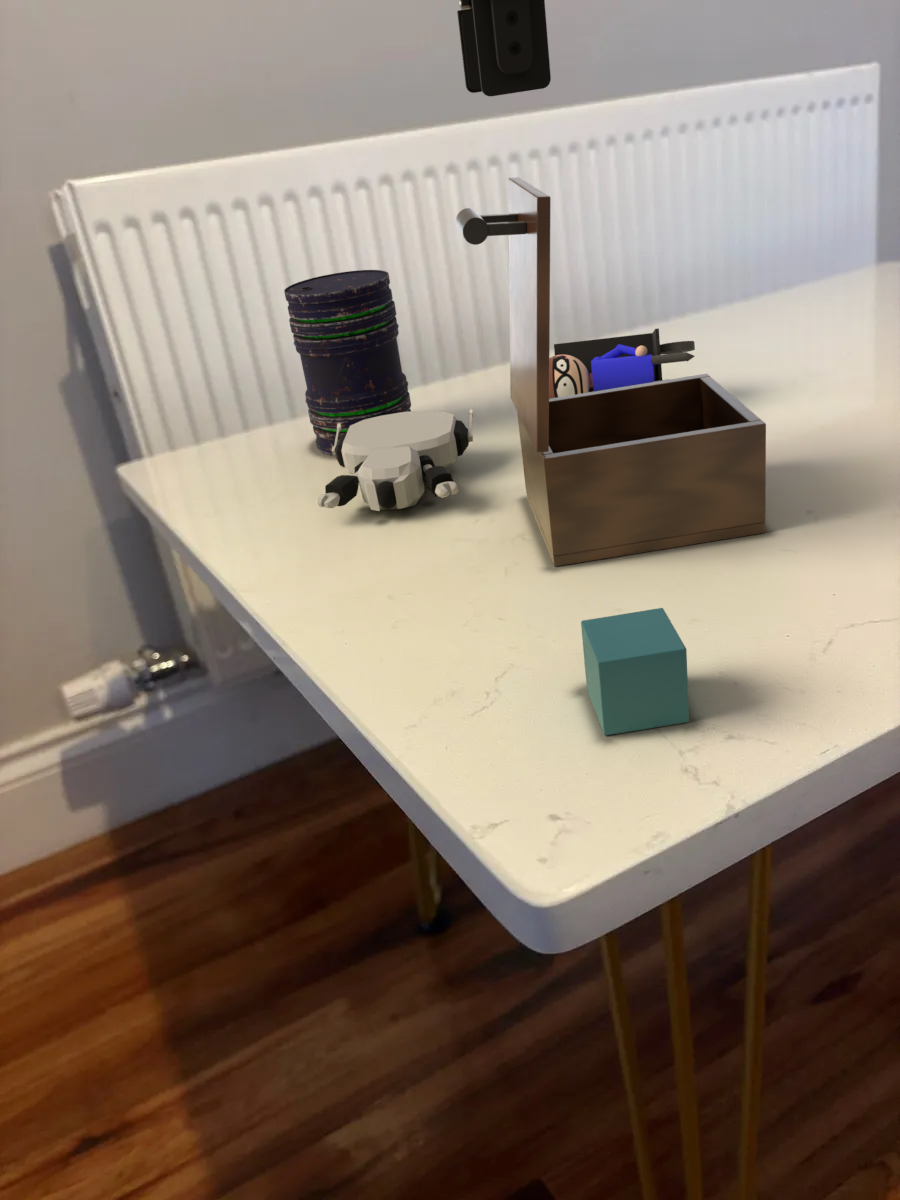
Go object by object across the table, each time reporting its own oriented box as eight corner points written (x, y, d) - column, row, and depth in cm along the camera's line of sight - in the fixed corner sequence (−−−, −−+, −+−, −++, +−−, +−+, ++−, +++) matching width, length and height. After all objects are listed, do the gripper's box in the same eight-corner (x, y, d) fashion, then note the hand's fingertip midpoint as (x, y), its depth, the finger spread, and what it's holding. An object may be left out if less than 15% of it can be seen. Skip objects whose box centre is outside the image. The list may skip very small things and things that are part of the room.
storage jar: (400, 414, 105) (375, 264, 98) (428, 440, 97) (403, 278, 90) (306, 436, 103) (274, 285, 96) (326, 464, 95) (292, 301, 88)
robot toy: (468, 525, 80) (479, 446, 92) (460, 473, 77) (472, 399, 90) (316, 539, 82) (347, 459, 94) (303, 488, 79) (337, 413, 92)
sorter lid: (519, 177, 70) (449, 180, 70) (550, 196, 59) (467, 200, 59) (520, 397, 77) (457, 401, 77) (548, 452, 66) (474, 456, 66)
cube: (666, 677, 56) (662, 607, 54) (689, 722, 52) (686, 648, 50) (586, 690, 56) (580, 620, 54) (604, 736, 52) (597, 662, 50)
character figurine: (706, 421, 92) (539, 438, 94) (697, 391, 98) (541, 407, 101) (703, 336, 88) (529, 356, 90) (695, 310, 94) (532, 329, 96)
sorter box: (709, 469, 81) (706, 373, 77) (765, 532, 70) (766, 423, 66) (526, 499, 81) (516, 403, 77) (554, 567, 70) (543, 459, 66)
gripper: (582, -454, 36) (612, 80, 44) (523, -298, 52) (553, 78, 60) (374, -421, 37) (441, 107, 44) (376, -275, 52) (425, 98, 60)
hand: (505, 90), depth 52 cm, fingers open, 9 cm apart
